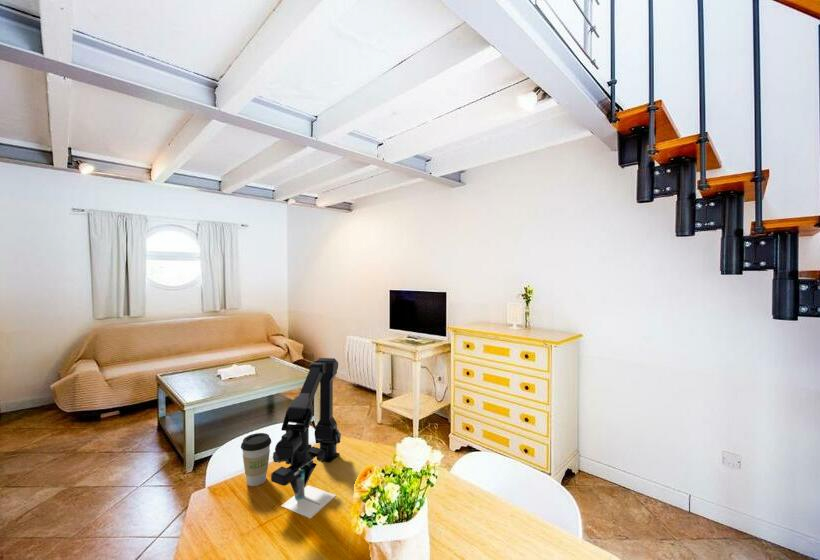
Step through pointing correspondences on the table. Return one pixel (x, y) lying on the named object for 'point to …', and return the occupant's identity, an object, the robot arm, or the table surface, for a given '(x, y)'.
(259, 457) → the coffee cup
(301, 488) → the marker
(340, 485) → the table surface
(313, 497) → the paper
